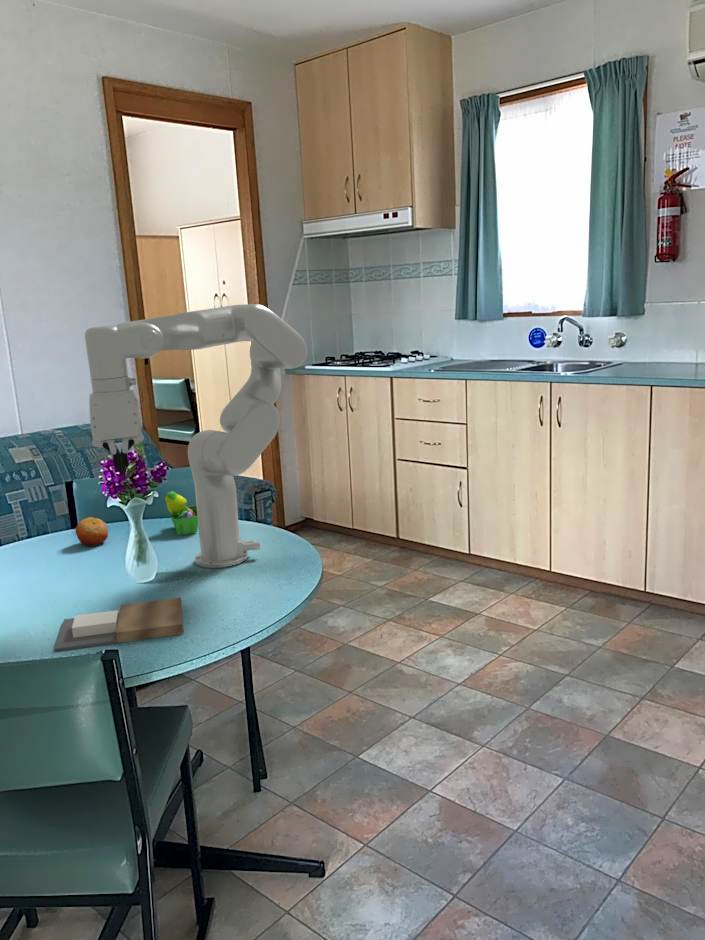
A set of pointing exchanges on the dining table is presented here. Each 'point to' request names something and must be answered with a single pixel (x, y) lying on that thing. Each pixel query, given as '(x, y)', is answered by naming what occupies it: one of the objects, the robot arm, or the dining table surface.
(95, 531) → the fruit
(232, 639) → the dining table surface
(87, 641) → the mat
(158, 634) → the board
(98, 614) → the block
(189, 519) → the green easter basket
